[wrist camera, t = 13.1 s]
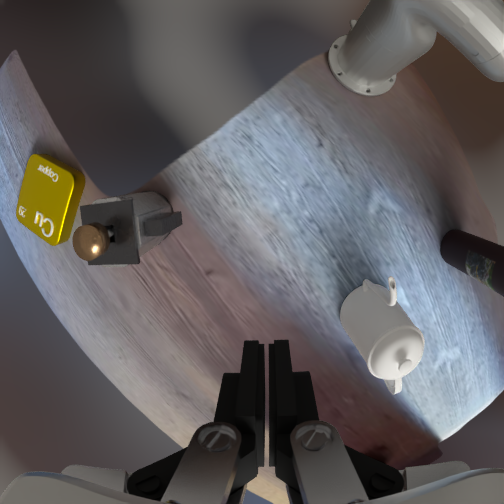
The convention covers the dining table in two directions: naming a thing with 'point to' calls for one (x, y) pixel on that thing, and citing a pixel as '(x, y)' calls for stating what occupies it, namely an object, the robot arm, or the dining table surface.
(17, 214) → the element tile
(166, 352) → the dining table surface
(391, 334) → the coffeepot
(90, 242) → the plunger
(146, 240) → the grey faceted container
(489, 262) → the wine bottle
